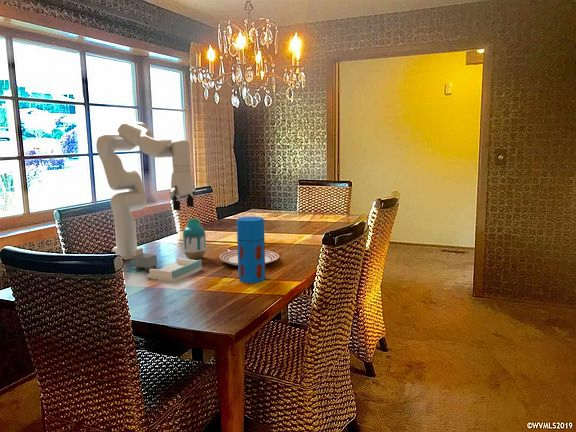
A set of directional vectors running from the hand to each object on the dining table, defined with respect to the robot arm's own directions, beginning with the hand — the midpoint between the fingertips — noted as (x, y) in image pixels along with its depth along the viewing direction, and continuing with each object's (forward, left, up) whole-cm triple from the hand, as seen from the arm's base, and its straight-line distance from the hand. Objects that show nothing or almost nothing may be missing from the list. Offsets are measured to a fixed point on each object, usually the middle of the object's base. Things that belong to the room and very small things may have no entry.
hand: (183, 208), depth 200 cm
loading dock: (+1, -10, -27) cm, 28 cm away
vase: (-6, +14, -27) cm, 31 cm away
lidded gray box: (-15, -10, -27) cm, 32 cm away
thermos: (+35, -4, -27) cm, 44 cm away
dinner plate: (+21, +19, -27) cm, 40 cm away
